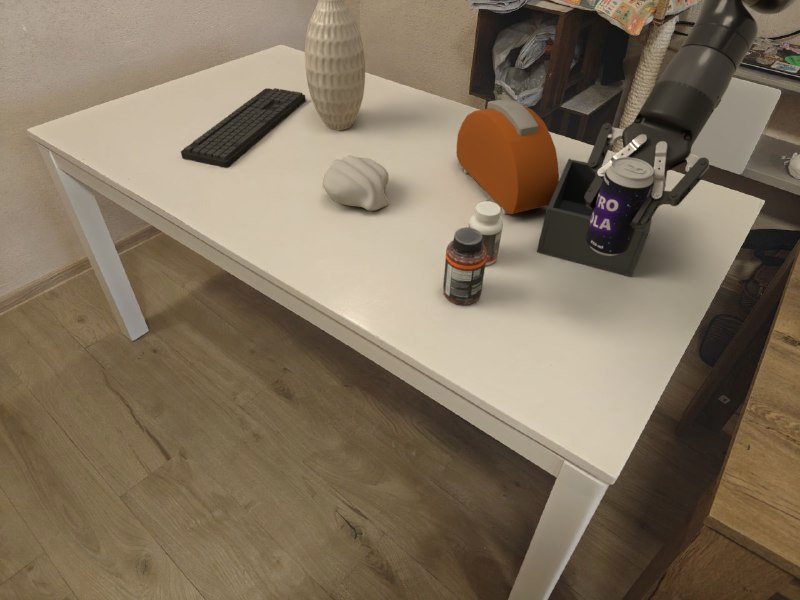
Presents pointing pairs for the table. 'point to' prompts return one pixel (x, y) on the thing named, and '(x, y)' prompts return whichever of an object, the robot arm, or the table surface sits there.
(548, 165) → the alarm clock
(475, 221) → the pill bottle
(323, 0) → the vase
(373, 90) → the table surface
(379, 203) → the shell shaped sculpture
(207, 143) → the keyboard
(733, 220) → the table surface
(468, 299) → the supplement bottle
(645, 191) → the beverage can
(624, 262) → the open storage box
